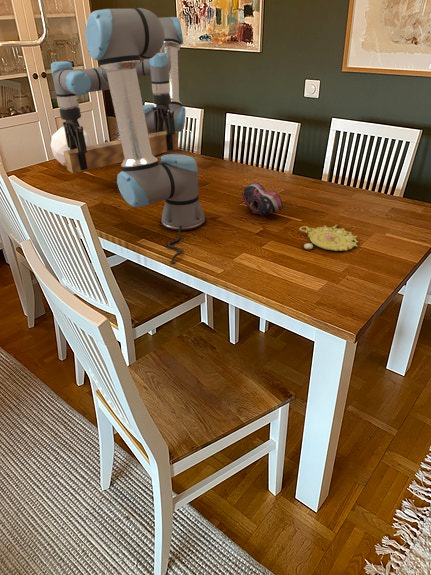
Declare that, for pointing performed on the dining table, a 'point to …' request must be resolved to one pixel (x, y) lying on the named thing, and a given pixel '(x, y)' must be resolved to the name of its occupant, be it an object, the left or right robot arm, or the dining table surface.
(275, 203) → the athletic shoe
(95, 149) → the bar
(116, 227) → the dining table surface
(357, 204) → the dining table surface
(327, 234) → the decorative object
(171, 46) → the left robot arm
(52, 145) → the sphere
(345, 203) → the dining table surface
